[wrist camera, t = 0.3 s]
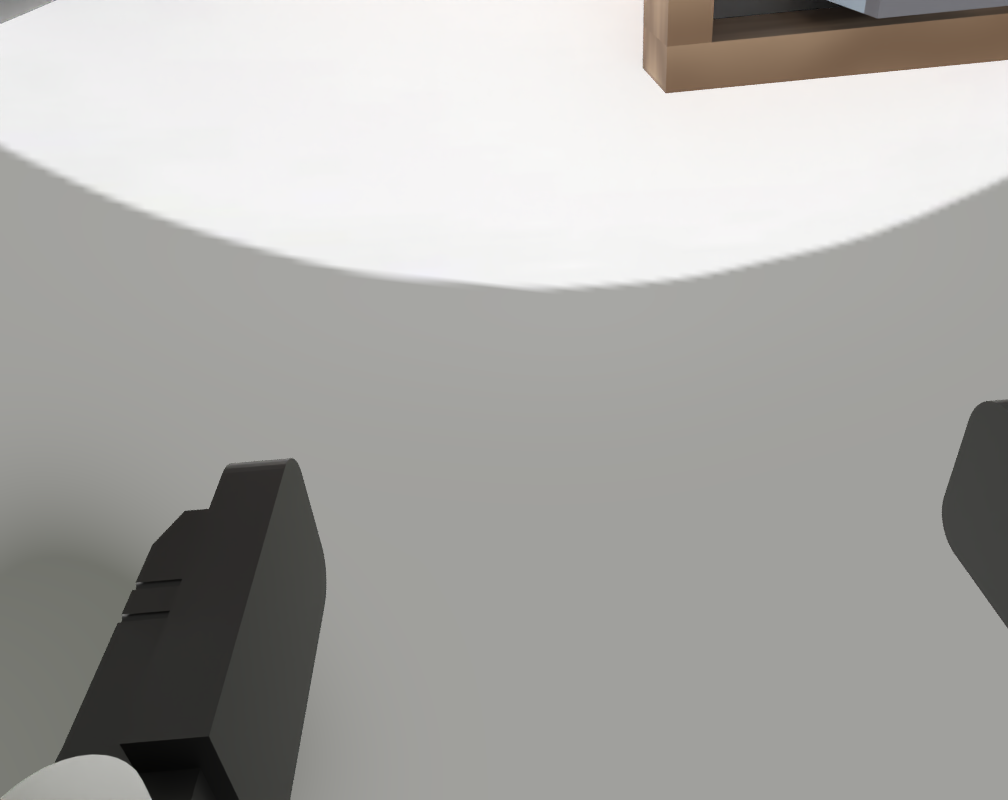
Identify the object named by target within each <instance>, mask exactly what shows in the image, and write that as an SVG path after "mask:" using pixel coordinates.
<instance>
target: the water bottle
mask: <svg viewBox="0 0 1008 800" xmlns="http://www.w3.org/2000/svg"><path fill="white" fill-rule="evenodd" d="M53 1H55V0H0V24H2V23H4V22H6V21H9V20H11V19H13V18H16V17H18V16H20V15H23V14H25V13H27V12H30V11H32V10H34V9H37V8H39V7H41V6H44V5H46V4H48V3H51V2H53Z"/></svg>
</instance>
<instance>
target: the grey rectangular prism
mask: <svg viewBox="0 0 1008 800" xmlns="http://www.w3.org/2000/svg"><path fill="white" fill-rule="evenodd" d="M828 1H831V2H833V3H836V4H839V5H842V6H844V7H847V8H850V9H853V10H855V11H858V12H861V13H864V14H866V15H869V16H872V17H875V18H877V19H878V18H888V17H898V16H908V15H919V14H929V13H939V12H949V11H959V10H970V9H980V8H990V7H1000V6H1008V0H828Z"/></svg>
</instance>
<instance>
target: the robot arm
mask: <svg viewBox="0 0 1008 800" xmlns="http://www.w3.org/2000/svg"><path fill="white" fill-rule="evenodd" d="M942 520H943V527H944V531H945V535H946V537H947V540H948V543H949V545H950V547H951V549H952V550H953V552H954V554H955V555H956V556H957V558H958V559H959V561H960V562H961V563H962V565H963V566H964V567H965V569H966V570H967V572H968V573H969V574H970V576H971V577H972V579H973V580H974V582H975V583H976V584H977V586H978V587H979V588H980V590H981V591H982V593H983V594H984V596H985V597H986V598H987V600H988V601H989V603H990V604H991V605H992V607H993V608H994V610H995V611H996V612H997V614H998V615H999V616H1000V618H1001V619H1002V621H1003V622H1004V623H1005V625H1006V626H1007V628H1008V400H996V401H986V402H983V403H981V404H979V405H978V406H977V407H976V408H975V409H974V411H973V412H972V414H971V416H970V418H969V421H968V425H967V427H966V430H965V434H964V437H963V440H962V443H961V446H960V449H959V452H958V455H957V458H956V462H955V465H954V468H953V471H952V474H951V477H950V480H949V483H948V486H947V490H946V493H945V496H944V500H943V505H942ZM325 598H326V567H325V559H324V554H323V549H322V545H321V542H320V538H319V535H318V531H317V527H316V523H315V520H314V516H313V512H312V509H311V505H310V502H309V498H308V494H307V491H306V487H305V484H304V480H303V476H302V473H301V470H300V467H299V465H298V463H297V462H296V461H295V459H292V458H289V459H279V460H278V459H277V460H266V461H254V462H242V463H231V464H229V465H227V466H226V468H225V469H224V471H223V473H222V476H221V479H220V481H219V484H218V486H217V489H216V492H215V495H214V497H213V500H212V502H211V505H210V508H209V509H204V510H191V511H184V512H183V514H182V515H181V516H180V517H179V518H178V519H177V520H176V521H175V522H174V523H173V524H172V525H171V526H170V527H169V528H168V529H167V530H166V531H165V532H164V533H163V534H162V536H161V537H159V539H158V540H157V541H156V542H155V543H154V544H153V545H152V547H151V550H150V552H149V554H148V556H147V558H146V561H145V563H144V565H143V567H142V570H141V572H140V575H139V576H138V579H137V581H136V590H132V592H131V594H130V597H129V599H128V602H127V603H126V606H125V608H124V610H123V613H122V622H121V623H118V624H117V626H116V628H115V630H114V633H113V635H112V637H111V639H110V642H109V644H108V647H107V649H106V651H105V653H104V655H103V657H102V660H101V662H100V665H99V667H98V669H97V671H96V673H95V676H94V678H93V680H92V682H91V685H90V687H89V689H88V691H87V694H86V696H85V698H84V700H83V703H82V705H81V707H80V709H79V712H78V714H77V716H76V718H75V721H74V723H73V725H72V727H71V730H70V732H69V734H68V737H67V739H66V741H65V743H64V746H63V748H62V750H61V751H60V754H59V755H58V757H57V759H56V761H55V763H54V764H52V765H49V766H47V767H45V768H43V769H41V770H39V771H37V772H36V773H34V774H32V775H30V776H29V777H27V778H26V779H24V780H23V781H22V782H20V783H19V784H17V785H16V786H14V787H13V788H12V789H11V790H10V791H8V792H7V793H6V794H5V795H4V796H3V797H1V798H0V800H290V797H291V791H292V785H293V780H294V774H295V768H296V763H297V757H298V752H299V746H300V740H301V735H302V729H303V723H304V718H305V712H306V707H307V701H308V695H309V690H310V684H311V678H312V673H313V667H314V662H315V661H314V660H315V656H316V650H317V644H318V639H319V633H320V628H321V622H322V616H323V611H324V605H325Z"/></svg>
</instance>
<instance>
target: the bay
mask: <svg viewBox="0 0 1008 800" xmlns="http://www.w3.org/2000/svg"><path fill="white" fill-rule="evenodd" d="M713 13H714V0H644V29H643V69H644V70H645V71H646V72H647V73H648V74H649V75H650V76H651V77H652V79H653V80H654V81H655V82H656V83H657V84H658V85H659V86H660V87H661V88H662V90H663V91H664V92H665V93H673V92H683V91H693V90H703V89H714V88H724V87H734V86H745V85H755V84H765V83H775V82H786V81H796V80H806V79H816V78H827V77H837V76H847V75H857V74H868V73H878V72H888V71H898V70H909V69H919V68H929V67H939V66H950V65H960V64H970V63H980V62H991V61H1001V60H1008V6H1000V7H990V8H980V9H970V10H959V11H949V12H939V13H929V14H919V15H908V16H898V17H888V18H878V19H877V18H875V17H872V16H869V15H866V14H864V13H861V12H858V11H855V10H853V9H850V8H847V7H844V6H843V7H833V8H822V9H812V10H802V11H792V12H782V13H771V14H761V15H751V16H741V17H731V18H720V19H713Z"/></svg>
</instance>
